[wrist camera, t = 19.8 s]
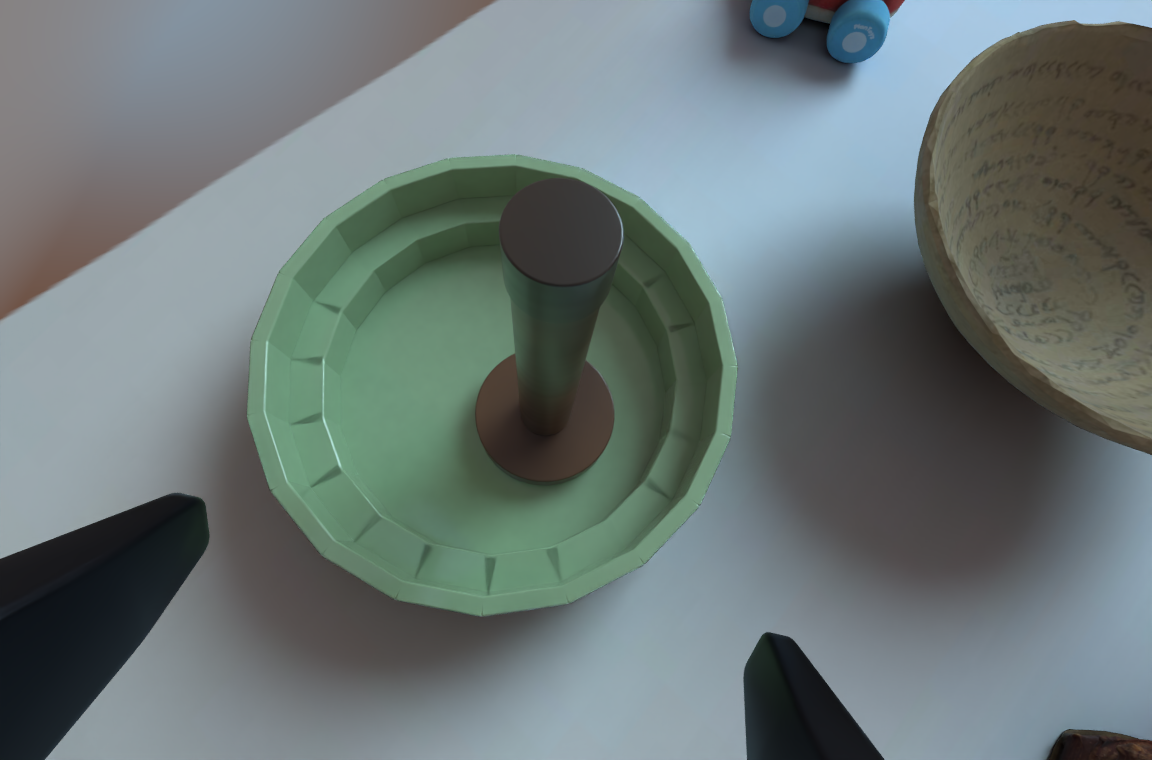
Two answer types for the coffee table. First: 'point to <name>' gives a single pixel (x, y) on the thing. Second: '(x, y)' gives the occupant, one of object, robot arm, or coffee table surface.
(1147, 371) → the bowl
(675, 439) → the green round dish
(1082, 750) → the pastry
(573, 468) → the paper towel holder
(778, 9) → the toy car
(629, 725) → the coffee table surface
